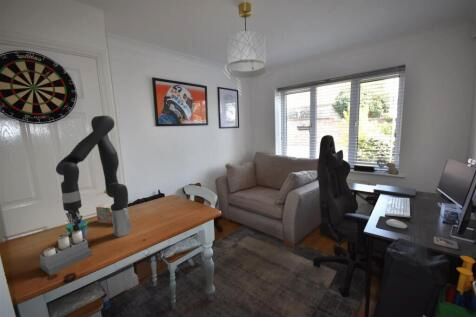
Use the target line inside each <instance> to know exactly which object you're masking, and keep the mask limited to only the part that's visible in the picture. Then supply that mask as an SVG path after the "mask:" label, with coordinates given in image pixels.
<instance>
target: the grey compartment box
mask: <svg viewBox="0 0 476 317" xmlns="http://www.w3.org/2000/svg"><path fill="white" fill-rule="evenodd" d="M55 251H56V254H54V255H51V256H49V257H47V258H45V256H44V253H42V254H40V255H39V258H40V261H38V264H39V268H40V269H41V270H42V271H44V272H45V273H46V274H48V275H49V276H52V275H54V274H55V273H57V272H59V271H61V270H64V269H66V268H68V267H71V266H72V265H74V264H76V263H78V262H80V261H82V260H84V259H86V258H89V257H91V256H92V255H93V254H92V249H91V248H89V244H88V240H86V238H85V239H83V242H82V243H79V244H77V245H73V242H72V241H71V243H70V248H68V249H65V250H63V251H60V249H59V247H57V248H55Z"/></svg>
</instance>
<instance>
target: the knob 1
mask: <svg viewBox="0 0 476 317" xmlns="http://www.w3.org/2000/svg"><path fill="white" fill-rule="evenodd" d="M55 249H56V248H55V247H48V248H46V249H44V250H43V254H44V256H45V258H47V257H49V256H51V255H54V254H56V251H55Z"/></svg>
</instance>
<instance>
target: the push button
mask: <svg viewBox="0 0 476 317" xmlns="http://www.w3.org/2000/svg"><path fill="white" fill-rule="evenodd" d="M62 236H68V237H69V243H71V242H72V241H71V236H72V233H70V232H68V231H65V232H63V233H61V234H60V236H59V238H60V237H62Z"/></svg>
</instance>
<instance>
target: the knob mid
mask: <svg viewBox="0 0 476 317" xmlns="http://www.w3.org/2000/svg"><path fill="white" fill-rule="evenodd" d="M57 241H58V248H59V249H60V251H63V250H65V249H68V248H70V243H69V241H70V239H69V237H68V236H62V237H60V236H59V237H58V238H57Z"/></svg>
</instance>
